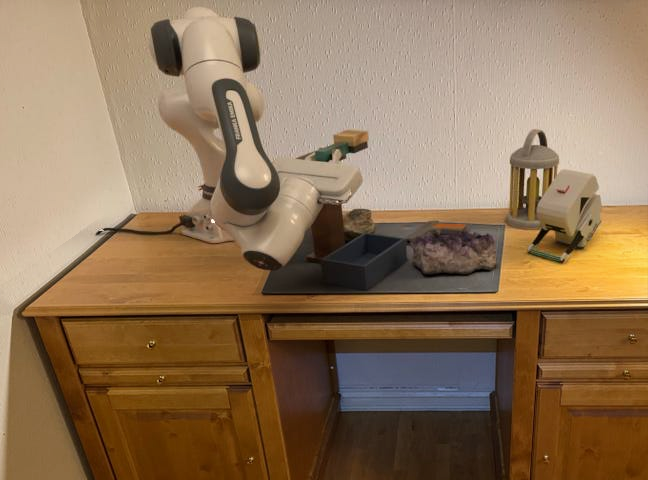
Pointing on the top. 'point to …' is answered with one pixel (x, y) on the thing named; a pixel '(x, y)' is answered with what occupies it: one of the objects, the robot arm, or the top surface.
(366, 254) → the desk bin
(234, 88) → the robot arm
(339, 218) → the stand
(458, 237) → the geode
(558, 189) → the robotic device
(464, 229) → the handgun
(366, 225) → the stone
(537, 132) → the lantern
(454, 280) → the top surface
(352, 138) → the brush
